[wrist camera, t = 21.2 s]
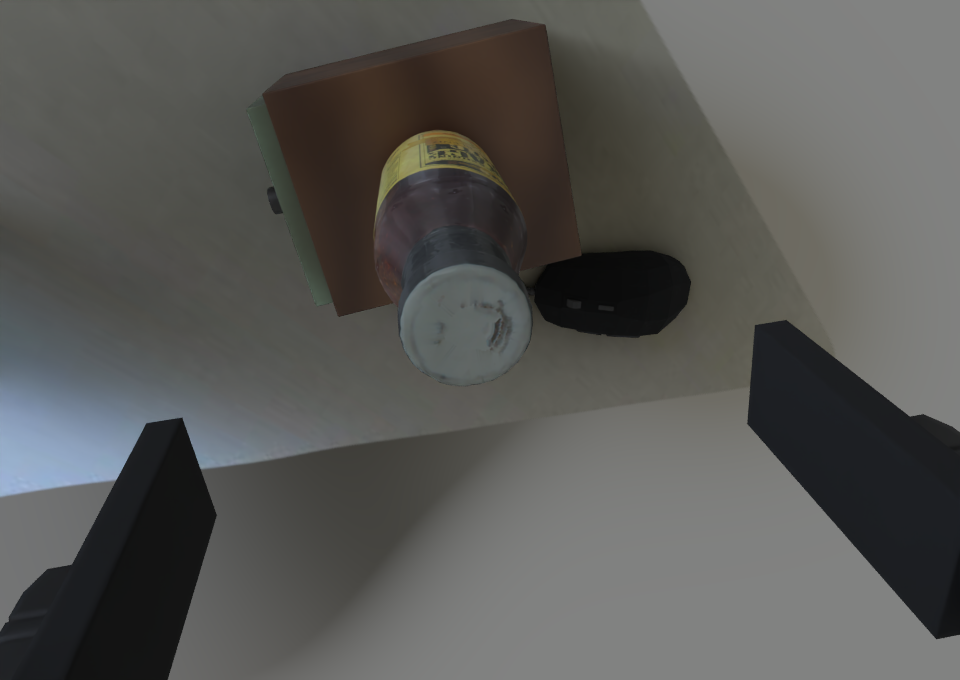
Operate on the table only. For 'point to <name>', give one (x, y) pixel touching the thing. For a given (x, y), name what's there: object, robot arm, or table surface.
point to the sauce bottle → (452, 259)
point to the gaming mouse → (613, 293)
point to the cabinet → (413, 110)
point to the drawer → (287, 200)
